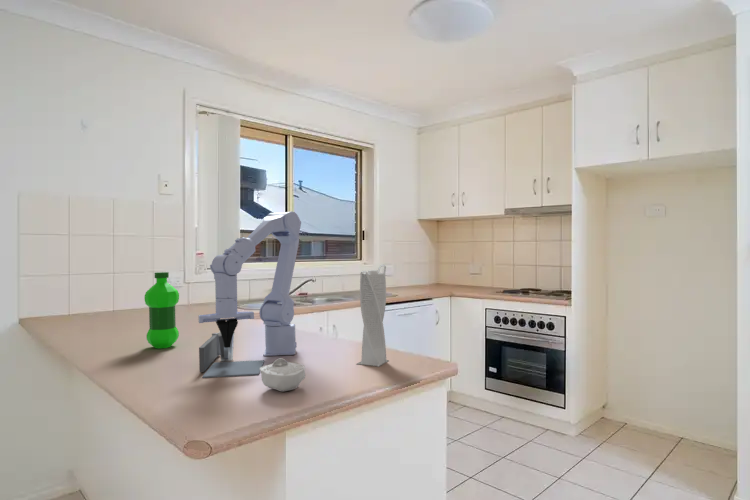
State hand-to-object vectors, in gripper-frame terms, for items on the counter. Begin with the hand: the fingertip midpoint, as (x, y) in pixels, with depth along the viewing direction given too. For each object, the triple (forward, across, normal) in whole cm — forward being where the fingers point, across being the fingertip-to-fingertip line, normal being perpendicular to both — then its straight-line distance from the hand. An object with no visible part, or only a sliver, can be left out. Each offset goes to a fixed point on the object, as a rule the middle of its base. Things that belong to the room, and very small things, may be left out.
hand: (227, 346), depth 127 cm
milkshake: (+6, -1, -8) cm, 10 cm away
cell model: (+6, -9, +27) cm, 29 cm away
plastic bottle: (+6, +15, -38) cm, 41 cm away
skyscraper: (+6, -37, +16) cm, 41 cm away
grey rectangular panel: (+5, +4, -6) cm, 9 cm away
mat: (+6, -2, +4) cm, 7 cm away
